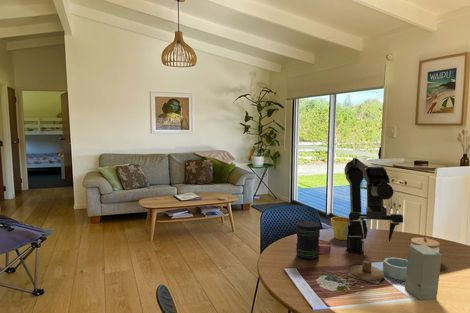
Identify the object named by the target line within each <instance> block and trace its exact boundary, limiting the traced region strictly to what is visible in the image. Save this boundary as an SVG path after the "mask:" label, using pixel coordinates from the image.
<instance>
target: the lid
mask: <svg viewBox="0 0 470 313" xmlns="http://www.w3.org/2000/svg"><path fill="white" fill-rule="evenodd" d="M372 264H373V263H372V262H371V261H369V260H363V261H362V264H356V265H352V266H351V267H350V268H349V273H351V274H352V275H353V276H354V277H356V278H355V279H357V278H359V279H358V280H361V279H362V281H364V280H367V281H366V282H368V281H378V280H381V281H382V280H383V279H384V278H385V275H384V273H383V270H381V269H380V268H377V267H375V266H373V265H372Z"/></svg>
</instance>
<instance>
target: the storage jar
mask: <svg viewBox="0 0 470 313" xmlns="http://www.w3.org/2000/svg"><path fill="white" fill-rule="evenodd" d="M320 226H321V223H319V222H318V221H315V220H308V219H307V220H304V219H303V220H298V221H297V222H296V236H297V237H296V239H297V240H296V242H297V243H296V248H295V249H296V250H295V251H296V256H295V257H296V258H297V259H299V260H300V261H304V262H316V261H317V262H318V261H319V259H320V236H321V235H320V233H321V232H320V231H321V230H320V229H321V228H320Z"/></svg>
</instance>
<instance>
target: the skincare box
mask: <svg viewBox="0 0 470 313" xmlns="http://www.w3.org/2000/svg"><path fill="white" fill-rule="evenodd" d="M407 255H408V256H407V260H408V262H407V270H406V279H405V280H404V289H405V290H406V291H408V292H409V293H410V294H412V296H413V297H415V298H417V299H418V300H420V301H421V300H422V301H423V300H424V301H426V300H428V301H429V300H437V299H438V297H437V296H438V289H439V281H440V280H439V279H440V273H441V266H442V257H443V254H441V253H440V252H439V253H438V252H436V251H435V250H434V249H431V248H430V247H428V246H426V245H411V244H410V245H409V246H408V254H407Z"/></svg>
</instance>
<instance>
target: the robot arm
mask: <svg viewBox="0 0 470 313" xmlns="http://www.w3.org/2000/svg"><path fill="white" fill-rule="evenodd" d="M343 169H344V171H343V173H344V175H345V179H346V181H347V182H348V183H349V196H350V198H349V201H350V212H349V213H348V218H349V219H348V221H347V226H346V228H345V230H344V236H345V237H346V238H347V239H346V249H345V252H348V253H349V252H350V253H354V254H361V253H362V252H363V251H364V250H365V242H364V240H367V236H368V231H369V229H368V227H367V221H366V220H377V221H380V220H381V221H390V223H389V234H388V242H391V239H392V237H393V233H394V231H395V228H396V226H399V225H400V224H402V223H404V215H403V214H402V213H390V215H389V214H388V211H387V210H388V209H387V208H388V207H387V206H386V205H384V200H390V199H391V198H393V196H394V194H395V192H394V189H393V186H391V185H390V183H391V182H390V179H391V178H390V177H389V175H388V173H387V170H386V169H385V167H384V165H380V164H379V165H378V164H373V163H372V162H371V161H369V160H368V159H367V158H366V157H365V156H355V157H353V158H352V159H351V160H350V161H349V162H347V163H346V164H345V167H344V168H343ZM363 180H365V182H366V185H365V187H366V208H365V213H362V191H361V190H362V189H361V184H362V182H363Z"/></svg>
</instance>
